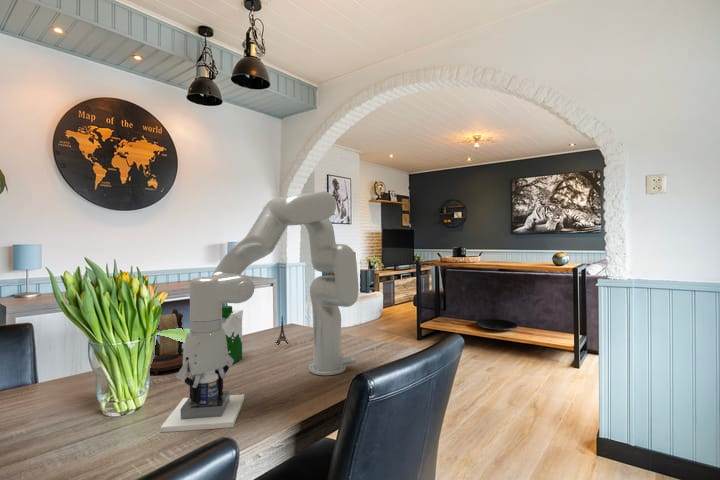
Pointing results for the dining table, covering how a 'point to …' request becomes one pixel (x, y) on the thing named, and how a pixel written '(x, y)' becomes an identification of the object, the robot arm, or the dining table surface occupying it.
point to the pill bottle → (208, 388)
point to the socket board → (225, 421)
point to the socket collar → (205, 408)
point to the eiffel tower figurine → (281, 338)
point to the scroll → (168, 345)
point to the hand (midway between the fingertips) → (206, 396)
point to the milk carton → (233, 331)
